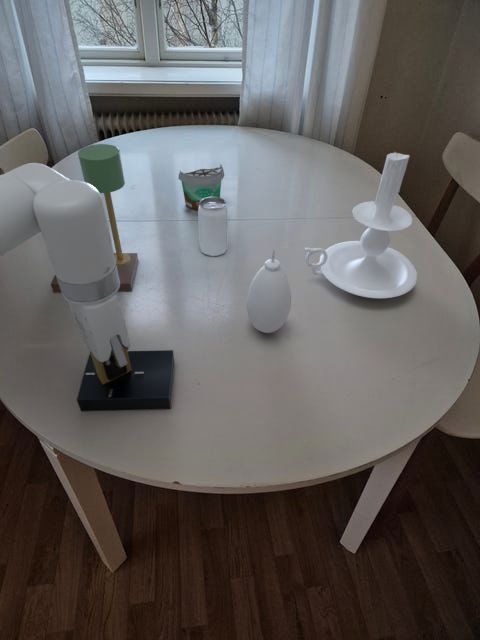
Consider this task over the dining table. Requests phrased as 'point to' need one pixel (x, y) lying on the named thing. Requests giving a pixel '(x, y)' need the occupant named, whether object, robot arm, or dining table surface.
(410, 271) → the candlestick
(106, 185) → the lamp
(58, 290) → the lamp base
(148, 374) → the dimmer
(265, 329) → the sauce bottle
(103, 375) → the yellow upright block
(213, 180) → the food container
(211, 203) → the can
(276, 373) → the dining table surface
